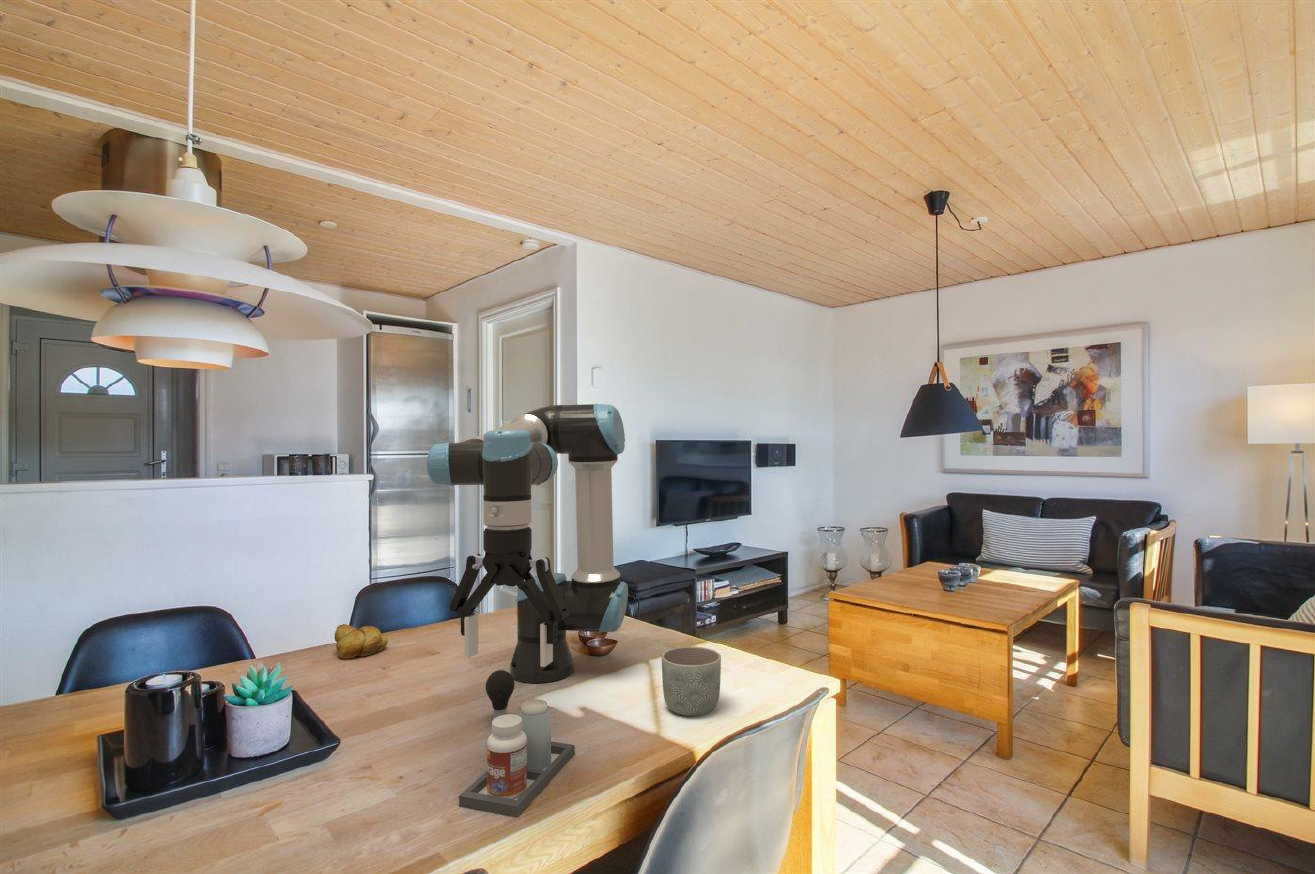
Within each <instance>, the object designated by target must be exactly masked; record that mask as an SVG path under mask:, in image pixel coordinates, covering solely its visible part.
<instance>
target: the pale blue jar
mask: <svg viewBox="0 0 1315 874" xmlns="http://www.w3.org/2000/svg"><path fill="white" fill-rule="evenodd" d="M517 710H518V711H517V715H518V716H520V717H521V718H522V729H521V730H522V731H523V732H524V733H525V734H526V736H527V768H533V769H539V770H543V769H545V768H547V767H548V766H549V765H550V764H551V742H552V708H551V707H550V706H549V705H548V702H547V701H546V700H543V699H530V700H526V701H524V702H523V703H522V704H521V706H520V708H519V709H517Z"/></svg>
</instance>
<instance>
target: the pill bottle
mask: <svg viewBox="0 0 1315 874" xmlns="http://www.w3.org/2000/svg"><path fill="white" fill-rule="evenodd" d="M521 729H522V718H521V717H520V716H518V714H513V713H510V714H509V713H507V714H506V715H501V716H498V717H496V718H495V719H494V718H493V719H492V721H491V732H492V733H491V734H490V735H489V737H488V738H487V741H486V742H487V743H486V771H487V793H488V795H492V796H497V797H502V798H508V799H513V798H515V797H518V796H519V795H521V794H522V793H523V792H524V791H525V789H526V786H527V736H526V734H525V733H524V732H523V731H522V730H521Z"/></svg>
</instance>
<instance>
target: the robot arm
mask: <svg viewBox="0 0 1315 874" xmlns="http://www.w3.org/2000/svg"><path fill="white" fill-rule="evenodd" d="M625 442H626V435H625V427H624V423H623V420H622V416H621V414H620V412H619V410H618V409H617V407H616V406H614V405H611V404H602V403H592V404H591V403H590V404H589V403H588V404H564V405H563V404H555V405H549V406H543V407H539V408H537V409H533V410H531V411H528V412H524V413H523V414H520V415H517V416H516V417H514V418H512V420H511V422H509V423H508V424H506V425H504V426H501V427H498V428H496V429H493V430H488V431H486V432H485V433H483V434H480V435H478V436H475V437H473V438H470V439H466V440H464V441H463V440H462V441H460V442H451V441H450V442H449V441H448V442H445V443H436V444H434V445H433V446H432V447H431V448H430V449H429V451H428V454H427V457H426V469H427V473H428V477H429V479H430V480H431V481H432V482H433V483H434V484H436V485H444V486H446V485H447V486H450V487H454V486H483V488H482V489H483V496H482V499H483V500H482V501H483V503H482V505H483V518H482V519H483V521H482V522H483V525H484V526H486V528H485V529H484V530H482V531H483V534H482V535H483V537H482V539H483V540H482V541H483V545H482V547H483V551H484V556H482V555H481V554H480V553H475V554H472V555H469V556H467V557H466V561H465V562H466V563H465V570H464V572H463V574H462V577H461V579H460V582H459V584H458V586H457V588H456V591H455V593H454V596H453V597H452V599H451V602H450V604H449V608H448V609H449V611H450V612H452V613H453V612H454V613H457V614H458V615H459V617H460V634H461V636H463V637H464V659H467V660H468V659H471V658H472V657H474V656H476V655H478V654H479V613H475V612H476V609H477V607H478V606H479V605H480V603H481V602H482V601H483V600H484V598H485V597H486V596H487V595H488V593H489V592H490V591H491V589H492V588H493V587H494V586H508V587H513V588H514V587H517V598H516V600H515V601H516V614H517V615H516V619H517V620H516V622H517V624H516V625H517V626H516V627H517V641H516V646H515V649H514V652H513V655H512V658H511V661H510V665H509V673H510V674H511V675H512V677H513V679H514V681H518V682H522V683H526V684H527V683H529V684H530V683H531V684H541V683H543V684H544V683H551V682H556V681H559V680H562V679H565V678H567V677H569V676H570V675H572V673H574V658H573V657H572V653H571V650H570V647H569V644H568V640H567V631H569V632H571V631H572V632H593V633H599V634H602V633H614V632H616V631H618V630H619V629H620V628H621V626H623V625H622V624H623V622H624V619H625V616H626V612H627V611H626V610H627V607H628V598H629V587H628V583H627V582H624V581H621V573H620V571H618V569H616V568H615V565H614V533H613V532H614V531H613V530H614V527H613V525H614V524H613V523H614V522H613V483H612V481H613V479H612V476H613V474H612V469H613V467H614V465H615V464H616V463H617V462H618V461H619V459H618V455H620V454H622V453H624V451H625V448H626V446H625V444H626V443H625ZM559 454H560V455H563V454H565V455H568V457H567V459H568V463H569V464H570V465H571V466H572V467H573V469H574V473H575V507H576V508H575V509H576V510H575V511H576V512H575V513H576V514H575V515H576V546H577V547H576V555H577V569H576V570H575V571H574V572H573V573H572V574H571V578H570V579H571V580H567V576H566V574H565V573H561V572H552V569H551V568H552V567H551V560H550V558H549V557H546V556H545V557H543V558H538V559H533V557H532V554H531V552H532V545H533V542H532V540H533V538H532V533H533V532H532V531H533V530H532V528H531V527H530V526H528V525H530V524H531V523H532V522H533V521H532V520H533V519H532V517H533V516H532V515H533V514H532V486H535V485H536V486H540V485H542V484H544V483H546V482H549V481H550V480H551V479H552V478H553V477H554V476H555V474H556V473H557V471H558V468H559V467H558V466H559V461H558V460H559V459H558V455H559ZM482 568H484V570H485V571H486V573H485V575H484V576H483V577H482V579H481V580H480V582H479V584H478V585H477V587H476V588H475V590H474V591H473V592H472V589H473V587H474V584H475V582H476V580H477V578H478V575H479V574H480V571H481V569H482ZM532 569H533V573H536V575H532V572H531V570H532ZM471 592H472V594H471V595H470V593H471Z"/></svg>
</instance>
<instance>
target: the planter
mask: <svg viewBox="0 0 1315 874" xmlns="http://www.w3.org/2000/svg"><path fill="white" fill-rule="evenodd" d="M721 666H722V656H721V653H720V652H718V651H716V650H715V649H711V648H708V647H702V646H691V645H690V646H688V645H687V646H679V647H674V648H669V649H668V650H665V651H664V652H663V653H662V654H661V673H662V675H661V677H662V692H663V699H664V703H665V705H666V707H667V708H668V709H669V710H670V711H672V712H673V713H675V714H678V715H682V716H688V717H698V716H703V715H706V714H709V713H711V712H712V711H714V710H715V709H716V708H717V705H718V704H719V699H720V694H721V674H722V673H721V671H722V670H721V669H722V668H721Z"/></svg>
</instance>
